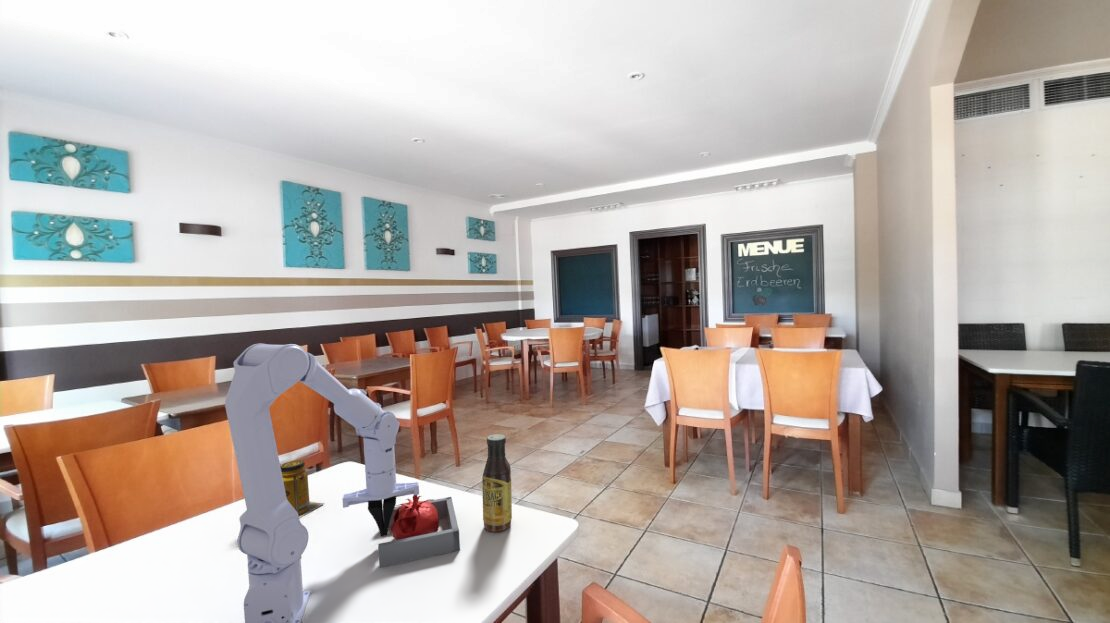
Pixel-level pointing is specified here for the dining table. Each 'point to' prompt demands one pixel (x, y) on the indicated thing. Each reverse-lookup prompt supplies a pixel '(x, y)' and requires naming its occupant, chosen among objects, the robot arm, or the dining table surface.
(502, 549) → the dining table surface
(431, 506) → the pomegranate
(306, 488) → the condiment
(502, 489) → the sauce bottle
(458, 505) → the dining table surface
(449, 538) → the tray
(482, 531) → the dining table surface
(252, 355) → the robot arm
